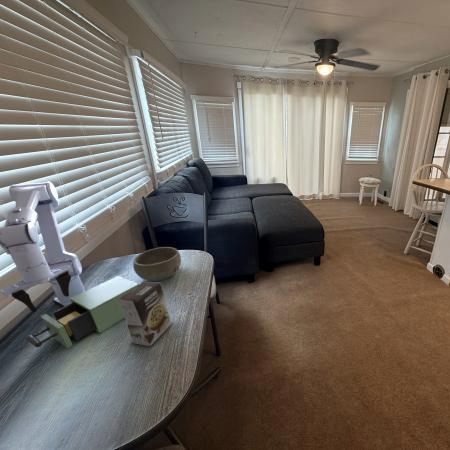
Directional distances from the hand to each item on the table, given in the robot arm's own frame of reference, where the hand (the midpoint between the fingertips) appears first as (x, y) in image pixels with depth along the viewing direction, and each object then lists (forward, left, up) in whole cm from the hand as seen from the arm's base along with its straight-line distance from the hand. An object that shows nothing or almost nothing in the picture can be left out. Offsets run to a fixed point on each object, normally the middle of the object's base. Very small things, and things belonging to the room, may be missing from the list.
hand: (50, 302), depth 73 cm
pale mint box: (+7, +11, -10) cm, 17 cm away
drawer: (+7, +1, -9) cm, 12 cm away
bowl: (0, +34, -11) cm, 36 cm away
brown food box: (+29, +11, -11) cm, 33 cm away
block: (+7, +1, -8) cm, 11 cm away
